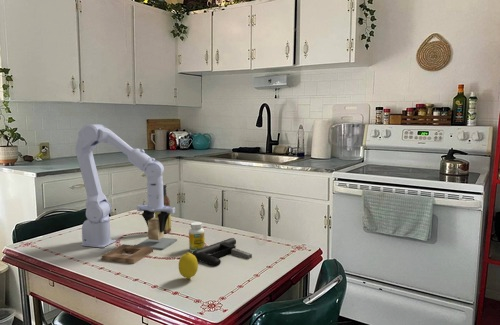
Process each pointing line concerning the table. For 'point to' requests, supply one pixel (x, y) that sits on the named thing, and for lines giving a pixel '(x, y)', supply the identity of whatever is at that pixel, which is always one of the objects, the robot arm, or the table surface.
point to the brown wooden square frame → (118, 255)
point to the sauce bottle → (166, 203)
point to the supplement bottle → (196, 236)
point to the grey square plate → (157, 243)
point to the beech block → (154, 229)
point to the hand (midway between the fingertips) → (156, 231)
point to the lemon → (188, 265)
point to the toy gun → (219, 252)
